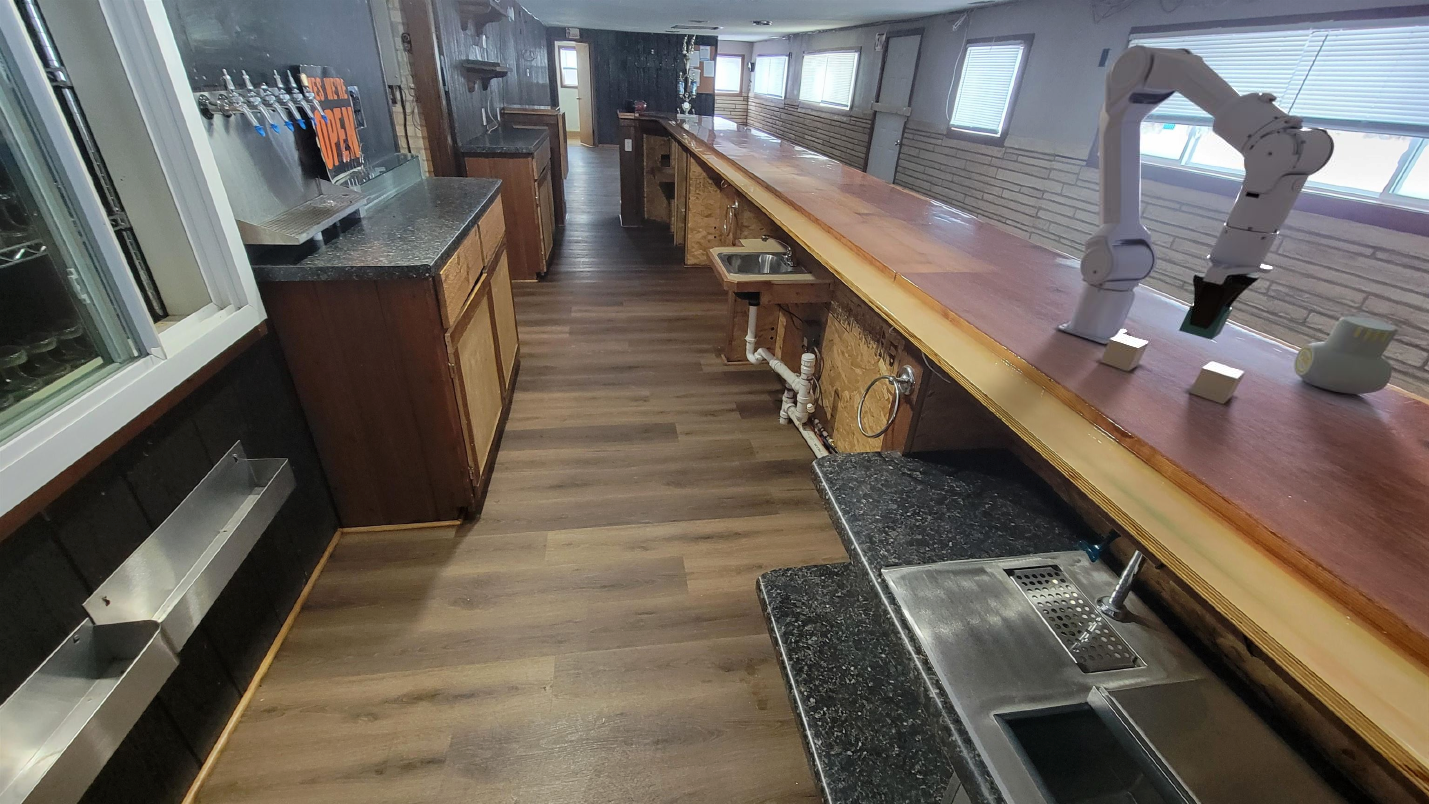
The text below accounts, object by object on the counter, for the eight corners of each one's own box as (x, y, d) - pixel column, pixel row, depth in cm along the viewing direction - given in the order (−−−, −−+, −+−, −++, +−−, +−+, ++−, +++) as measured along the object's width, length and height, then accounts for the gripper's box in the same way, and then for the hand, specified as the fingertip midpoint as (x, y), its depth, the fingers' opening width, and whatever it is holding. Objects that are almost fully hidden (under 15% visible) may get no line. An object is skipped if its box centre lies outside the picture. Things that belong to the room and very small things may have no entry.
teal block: (1187, 325, 85) (1200, 299, 83) (1219, 334, 82) (1233, 308, 80) (1178, 330, 83) (1191, 304, 81) (1211, 339, 80) (1225, 313, 78)
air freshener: (1378, 408, 79) (1425, 342, 74) (1300, 391, 83) (1341, 327, 78) (1354, 379, 87) (1396, 318, 82) (1285, 365, 91) (1321, 306, 86)
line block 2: (1198, 385, 83) (1211, 361, 81) (1231, 396, 80) (1245, 371, 78) (1189, 392, 81) (1202, 367, 79) (1222, 404, 78) (1237, 378, 76)
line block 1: (1110, 356, 91) (1120, 333, 89) (1138, 365, 89) (1148, 342, 87) (1100, 361, 89) (1109, 338, 87) (1127, 371, 86) (1138, 347, 84)
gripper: (1276, 241, 69) (1221, 343, 75) (1302, 228, 76) (1251, 322, 83) (1206, 229, 73) (1161, 326, 80) (1238, 218, 81) (1194, 307, 88)
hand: (1203, 323), depth 82 cm, fingers closed on teal block, 4 cm apart
